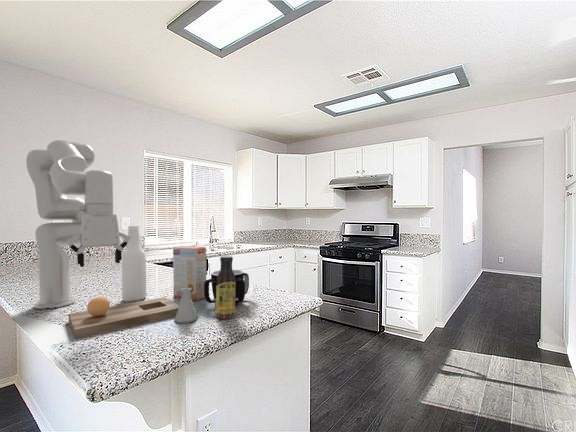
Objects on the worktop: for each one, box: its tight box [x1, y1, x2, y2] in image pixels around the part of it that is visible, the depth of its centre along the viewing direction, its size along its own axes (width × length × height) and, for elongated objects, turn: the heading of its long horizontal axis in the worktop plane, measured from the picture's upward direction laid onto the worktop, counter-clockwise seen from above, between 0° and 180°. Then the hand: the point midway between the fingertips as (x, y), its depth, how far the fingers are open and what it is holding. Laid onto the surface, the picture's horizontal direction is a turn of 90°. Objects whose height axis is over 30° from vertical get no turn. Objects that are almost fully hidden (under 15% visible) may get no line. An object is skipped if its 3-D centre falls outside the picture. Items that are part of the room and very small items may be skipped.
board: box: [68, 296, 180, 339], centre depth 101 cm, size 18×30×2 cm, turn 130°
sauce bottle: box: [215, 255, 236, 320], centre depth 101 cm, size 6×6×20 cm
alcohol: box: [121, 225, 147, 303], centre depth 124 cm, size 9×9×30 cm
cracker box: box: [172, 245, 207, 301], centre depth 126 cm, size 14×6×21 cm, turn 58°
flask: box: [173, 288, 199, 324], centre depth 98 cm, size 7×7×10 cm
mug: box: [204, 269, 250, 306], centre depth 116 cm, size 16×16×12 cm
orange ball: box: [86, 296, 111, 316], centre depth 95 cm, size 6×6×6 cm
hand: (100, 264), depth 96 cm, fingers open, 9 cm apart
